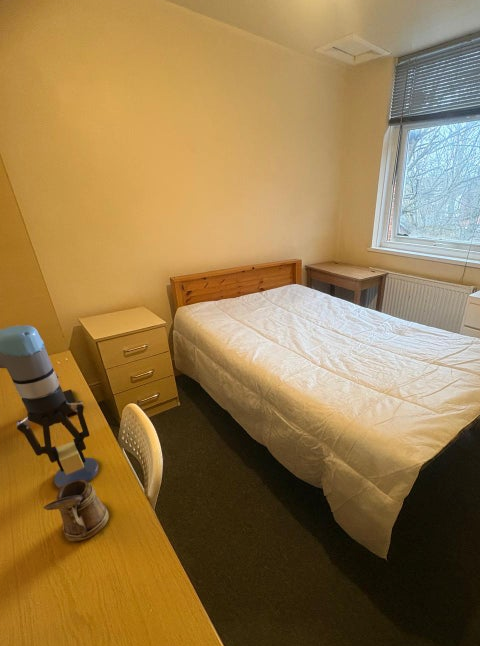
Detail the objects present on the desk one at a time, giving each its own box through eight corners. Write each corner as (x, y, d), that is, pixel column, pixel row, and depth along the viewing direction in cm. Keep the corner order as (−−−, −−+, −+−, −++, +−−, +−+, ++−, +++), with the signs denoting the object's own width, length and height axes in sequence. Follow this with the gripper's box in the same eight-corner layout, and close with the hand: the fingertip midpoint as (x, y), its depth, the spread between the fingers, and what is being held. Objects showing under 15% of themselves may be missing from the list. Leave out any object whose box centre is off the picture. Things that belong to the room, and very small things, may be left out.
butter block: (66, 475, 82) (59, 461, 80) (63, 461, 86) (56, 447, 84) (84, 467, 84) (78, 453, 82) (80, 454, 88) (74, 440, 86)
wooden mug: (59, 568, 66) (25, 511, 57) (67, 515, 76) (39, 460, 68) (108, 549, 69) (83, 492, 61) (109, 500, 80) (88, 446, 72)
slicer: (79, 413, 110) (66, 379, 104) (44, 425, 104) (28, 390, 98) (72, 392, 121) (60, 360, 115) (39, 402, 115) (25, 369, 109)
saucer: (46, 489, 83) (44, 486, 82) (71, 460, 91) (69, 457, 91) (85, 490, 83) (83, 487, 82) (105, 460, 91) (104, 457, 91)
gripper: (80, 372, 82) (105, 441, 93) (-8, 397, 72) (32, 471, 83) (86, 385, 77) (111, 456, 87) (-8, 413, 67) (34, 490, 78)
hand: (73, 463), depth 85 cm, fingers closed on butter block, 4 cm apart
